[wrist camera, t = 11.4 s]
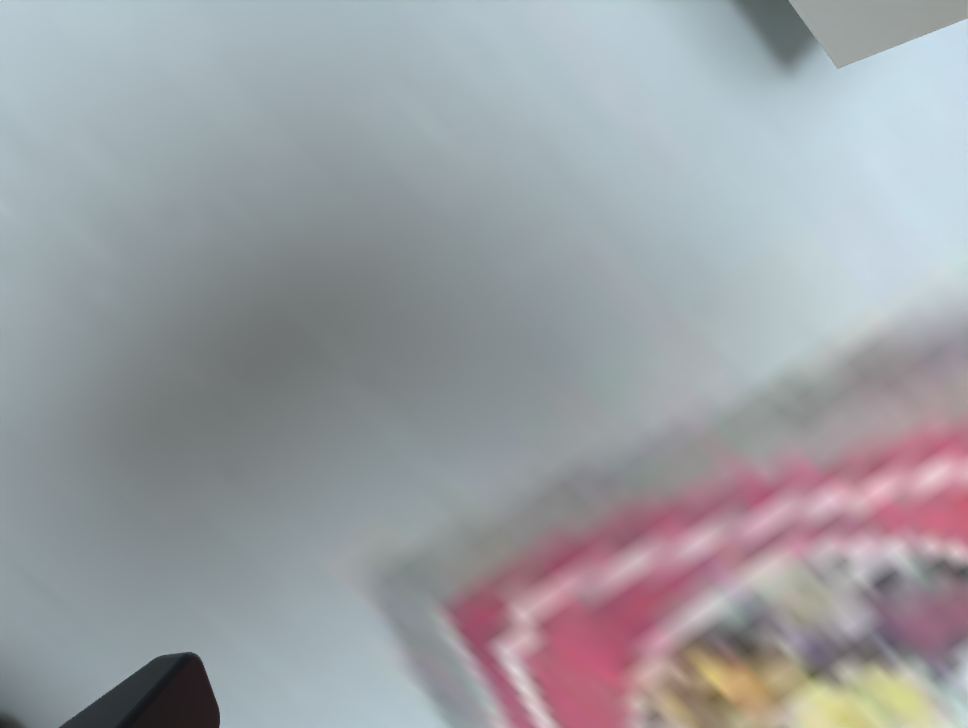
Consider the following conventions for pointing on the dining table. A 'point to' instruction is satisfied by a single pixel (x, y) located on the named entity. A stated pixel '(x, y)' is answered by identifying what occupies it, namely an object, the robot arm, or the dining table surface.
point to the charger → (874, 23)
